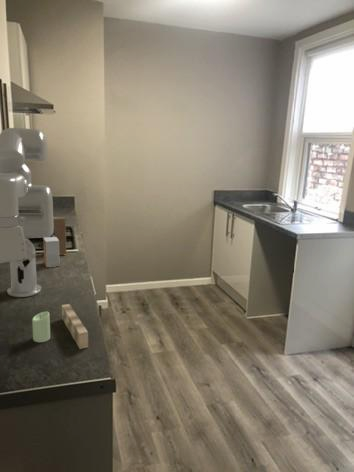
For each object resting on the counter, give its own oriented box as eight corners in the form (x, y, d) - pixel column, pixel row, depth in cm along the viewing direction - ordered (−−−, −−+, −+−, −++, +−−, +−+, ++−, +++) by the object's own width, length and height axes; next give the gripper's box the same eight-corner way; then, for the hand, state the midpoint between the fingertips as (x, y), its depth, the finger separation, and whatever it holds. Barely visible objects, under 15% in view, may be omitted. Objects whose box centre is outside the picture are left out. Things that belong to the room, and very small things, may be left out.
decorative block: (44, 257, 197) (43, 219, 192) (43, 254, 202) (42, 217, 197) (66, 255, 202) (65, 218, 197) (65, 252, 207) (64, 216, 202)
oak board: (62, 318, 131) (61, 305, 130) (69, 317, 132) (69, 303, 131) (79, 349, 113) (79, 333, 111) (88, 347, 114) (88, 332, 113)
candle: (34, 343, 114) (32, 318, 112) (32, 336, 119) (31, 311, 117) (51, 340, 116) (50, 316, 115) (49, 333, 121) (48, 309, 119)
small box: (43, 262, 188) (42, 237, 185) (57, 261, 191) (56, 236, 188) (46, 267, 181) (45, 241, 178) (60, 266, 184) (59, 240, 181)
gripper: (34, 217, 112) (37, 275, 116) (-32, 220, 103) (-27, 283, 108) (39, 222, 106) (42, 283, 110) (-31, 226, 97) (-25, 292, 102)
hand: (8, 282), depth 109 cm, fingers open, 5 cm apart
